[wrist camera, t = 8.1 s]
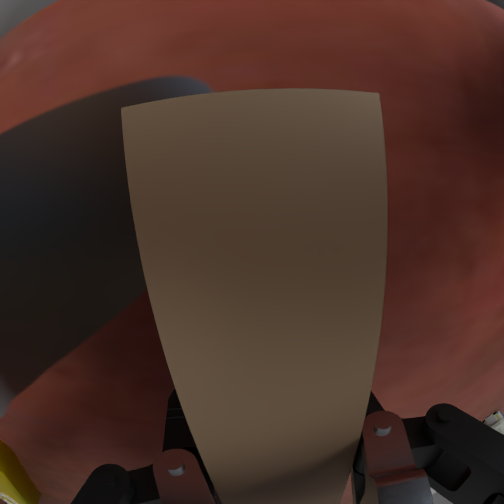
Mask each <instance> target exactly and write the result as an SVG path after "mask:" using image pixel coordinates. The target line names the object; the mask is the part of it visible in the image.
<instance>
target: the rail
mask: <svg viewBox="0 0 504 504" xmlns="http://www.w3.org/2000/svg"><path fill="white" fill-rule="evenodd" d="M121 113H122V127H123V139H124V150H125V159H126V169H127V177H128V185H129V192H130V199H131V206H132V212H133V218H134V224H135V230H136V236H137V242H138V247H139V252H140V257H141V262H142V267H143V272H144V276H145V281H146V285H147V289H148V294H149V298H150V302H151V306H152V310H153V314H154V318H155V322H156V326H157V329H158V333H159V337H160V340H161V344H162V347H163V351H164V354H165V357H166V361H167V364H168V367H169V370H170V374H171V377H172V380H173V383H174V386H175V389H176V392H177V395H178V398H179V401H180V403H181V406H182V409H183V412H184V415H185V417H186V420H187V423H188V425H189V428H190V431H191V433H192V436H193V438H194V441H195V443H196V446H197V448H198V451H199V453H200V456H201V458H202V460H203V463H204V465H205V467H206V470H207V472H208V474H209V476H210V479H211V481H212V483H213V485H214V487H215V489H216V492H217V494H218V496H219V498H220V500H221V502H222V504H340V501H341V498H342V495H343V492H344V489H345V487H346V484H347V480H348V477H349V474H350V471H351V468H352V465H353V461H354V458H355V454H356V451H357V447H358V443H359V440H360V436H361V432H362V428H363V424H364V420H365V415H366V411H367V406H368V402H369V397H370V392H371V387H372V381H373V376H374V370H375V364H376V358H377V352H378V345H379V338H380V330H381V322H382V313H383V303H384V291H385V278H386V261H387V230H388V201H387V171H386V154H385V141H384V130H383V120H382V111H381V103H380V96H379V93H372V92H361V91H349V90H333V89H256V90H239V91H227V92H216V93H207V94H198V95H190V96H183V97H177V98H170V99H164V100H158V101H153V102H148V103H143V104H138V105H133V106H128V107H124V108H121Z"/></svg>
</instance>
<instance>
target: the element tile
mask: <svg viewBox="0 0 504 504" xmlns="http://www.w3.org/2000/svg"><path fill="white" fill-rule="evenodd" d="M40 495H41V494H40V493H39V491H38V490H37V488H36V487H35V485H34V484H33V482H32V481H31V479H30V478H29V476H28V475H27V473H26V471H25V470H24V468H23V467H22V465H21V463H20V462H19V460H18V458H17V456H16V455H15V453H14V452H13V451H12V450H11V449H10V448H9V447H8V446H7V445H6V444H5V443H4V442H2V441H1V440H0V499H2V500H4V501H5V502H7V503H8V504H38V502H39V499H40Z"/></svg>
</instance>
